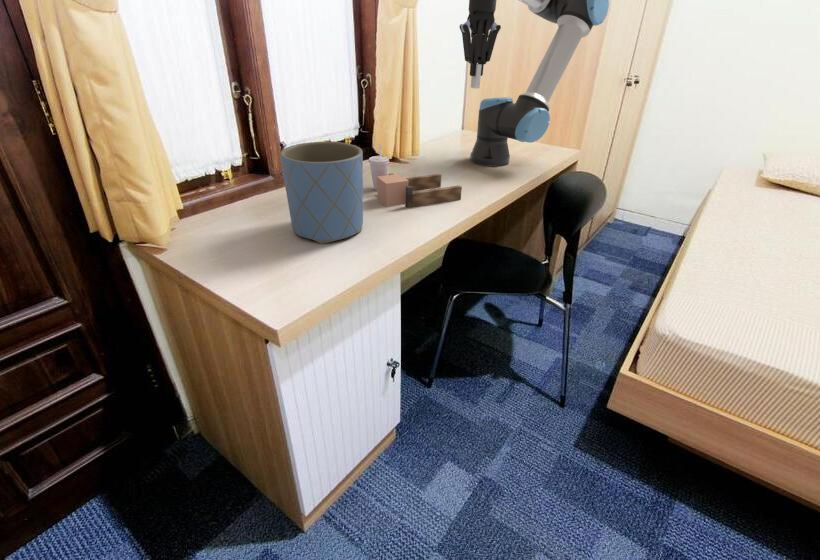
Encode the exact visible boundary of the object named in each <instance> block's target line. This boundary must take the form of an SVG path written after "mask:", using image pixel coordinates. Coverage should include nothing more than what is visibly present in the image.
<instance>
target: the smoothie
mask: <svg viewBox="0 0 820 560" xmlns="http://www.w3.org/2000/svg"><path fill="white" fill-rule="evenodd" d="M368 163H369V166H370V172H371V178H372V179H371V180H372V187H373V190H374V191H376V192H377V176H385V175H388V168H389V167H388V166H389V163H390V158H389V157H387V156H383V155H382V144H379V155H376V156H374V155H373V156H371V157H369V158H368Z"/></svg>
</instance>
